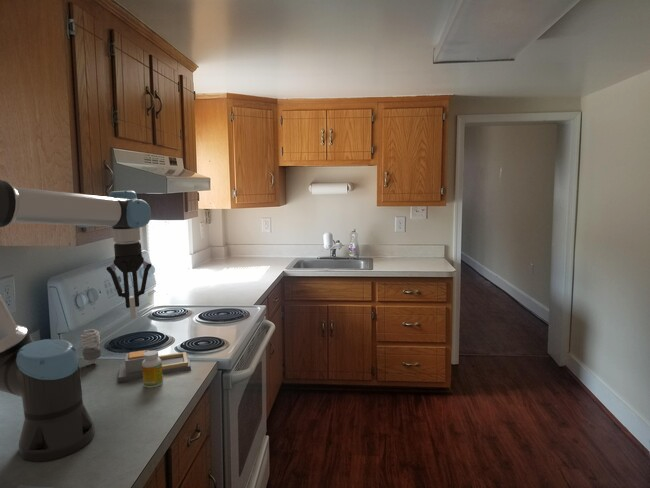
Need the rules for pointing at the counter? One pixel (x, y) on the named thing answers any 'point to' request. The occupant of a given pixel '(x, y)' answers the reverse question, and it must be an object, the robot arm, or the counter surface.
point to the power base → (169, 362)
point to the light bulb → (93, 351)
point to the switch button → (136, 354)
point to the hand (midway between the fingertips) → (133, 317)
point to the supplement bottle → (152, 370)
